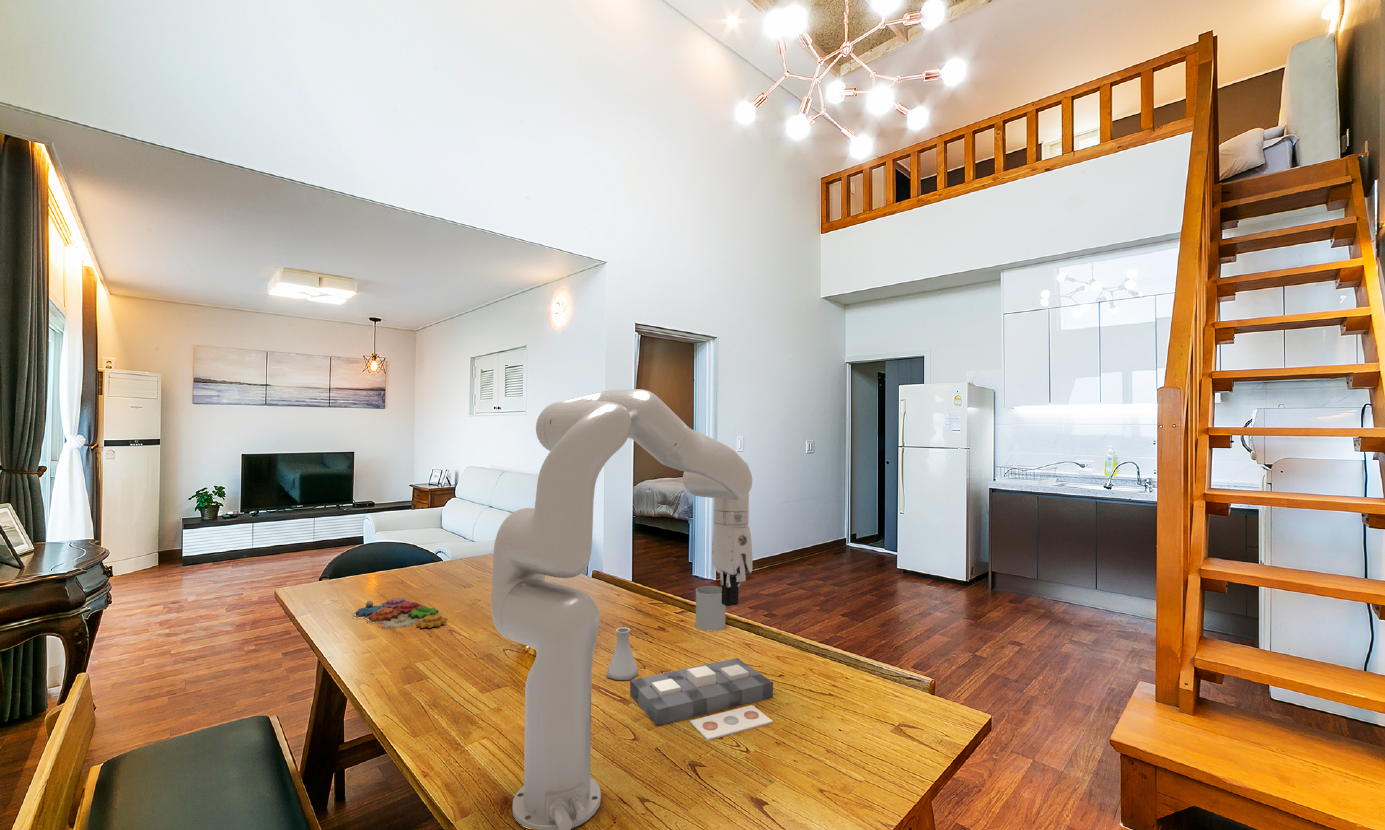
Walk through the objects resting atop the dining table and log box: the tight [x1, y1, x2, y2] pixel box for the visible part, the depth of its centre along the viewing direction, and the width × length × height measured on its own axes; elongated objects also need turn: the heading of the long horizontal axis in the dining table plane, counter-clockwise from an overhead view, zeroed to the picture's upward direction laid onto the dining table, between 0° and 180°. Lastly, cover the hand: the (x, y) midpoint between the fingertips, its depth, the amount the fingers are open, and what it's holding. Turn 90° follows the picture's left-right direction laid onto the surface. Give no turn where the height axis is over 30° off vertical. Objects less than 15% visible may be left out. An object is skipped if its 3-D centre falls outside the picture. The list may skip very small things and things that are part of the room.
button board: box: [629, 657, 774, 727], centre depth 119 cm, size 14×26×3 cm, turn 117°
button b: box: [687, 665, 716, 688], centre depth 119 cm, size 4×4×4 cm
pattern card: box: [689, 704, 774, 741], centre depth 108 cm, size 7×14×1 cm, turn 117°
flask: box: [606, 626, 639, 681], centre depth 129 cm, size 7×7×10 cm
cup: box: [695, 585, 726, 632], centre depth 161 cm, size 8×8×10 cm
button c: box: [652, 679, 681, 696], centre depth 115 cm, size 4×4×4 cm
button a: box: [720, 665, 749, 681], centre depth 122 cm, size 4×4×4 cm
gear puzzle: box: [352, 597, 448, 630], centre depth 165 cm, size 31×16×4 cm, turn 58°
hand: (729, 604), depth 123 cm, fingers closed
